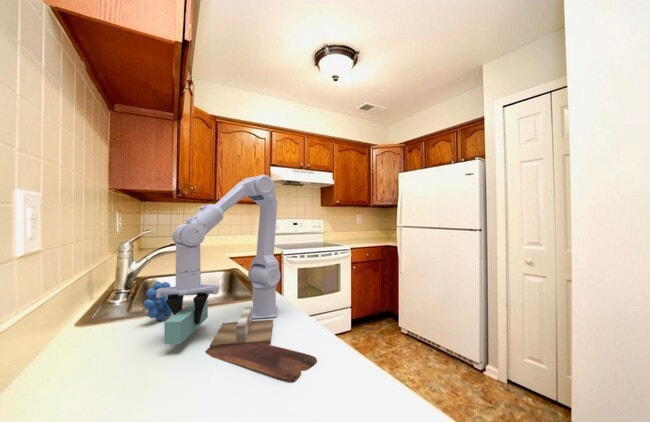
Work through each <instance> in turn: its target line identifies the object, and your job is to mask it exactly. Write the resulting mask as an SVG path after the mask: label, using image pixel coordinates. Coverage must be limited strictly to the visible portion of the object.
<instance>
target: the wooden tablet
mask: <svg viewBox="0 0 650 422" xmlns="http://www.w3.org/2000/svg"><path fill="white" fill-rule="evenodd" d="M204 353H205V354H207V355H208V356H209V357H211V358H213V359H217V360H220V361H224V362H226V363H230V364H234V365H238V366H240V367H244V368H247V369H249V370H252V371H255V372H257V373H260V374H263V375H266V376H268V377H270V376H271V378H274V379H276V378H277V379H276V380H279V379H280V380H281V381H283V380H284V381H283V382H287V381H288V382H287V383H294V381H295V382H297V380H299V378H300V377H301V376H302V372H301V371H303V372H305V371H309V370H310V369H311V368H312V367H313V366H314V365H315V364H316V363H317V361H318V360H317V357H316V356H314V355H311V354H307V353H304V352H300V351H296V350H293V349H288V348H283V347H280V346H275V345H271V344H270V345H267V344H262V343H251V344H239V345H230V346H223V347H217V348H211V349H210V347H208V348H207V349H206V350H204ZM280 380H279V381H280Z"/></svg>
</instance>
